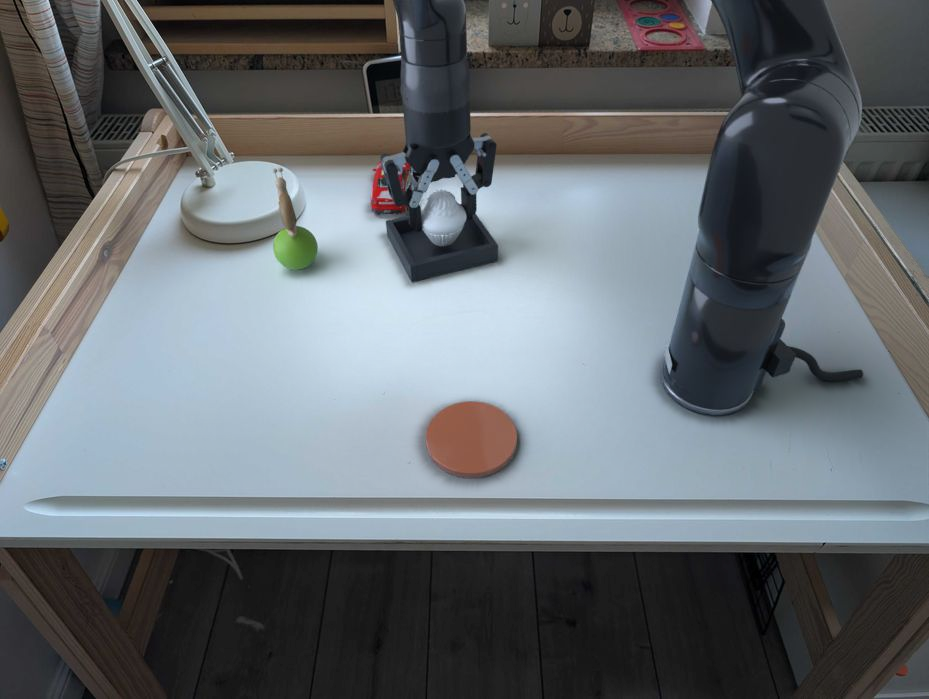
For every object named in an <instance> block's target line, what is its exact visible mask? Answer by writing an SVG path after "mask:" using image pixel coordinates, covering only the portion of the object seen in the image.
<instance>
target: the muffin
mask: <svg viewBox="0 0 929 699" xmlns="http://www.w3.org/2000/svg"><path fill="white" fill-rule="evenodd" d="M460 204H461V203H459V202H458V201H457V199H456V196H455V195H454V194H453V193H452V192H451V191H448V190H446V189H445V190H442V189H440V190H435V191H433V192H432V193H430V194H429V195H428V197H427V198H426V202H425V203H424V204H423V205H422V206H420V207H421V218H422V229H423V231H424V232H425V234H426V235H427V236H428V238H429V239H430V240H431V242H432V243H433V244H435V245H437V246H448V245H451V244H453V243H454V242H455V241H456V239H457V237H458V236H459V234H460V232H461V231H462V229H463V226H464V223H465V221H466V211H465V209H464V208H463V207H462V206H461V205H460Z"/></svg>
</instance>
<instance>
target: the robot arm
mask: <svg viewBox="0 0 929 699" xmlns="http://www.w3.org/2000/svg"><path fill="white" fill-rule="evenodd" d="M392 2H393V7H394V8H395V12H396V16H397V23H398V34H399V46H400V59H401V60H400V96H401V100H402V110H403V111H402V113H403V121H404V122H403V123H404V135H405V145H404V147H403V149H402V151H401V152H399V153H395V154H392V155H390V154H389V153H387V152H384V153H381V155H380V158H379V160H380V161H381V164H382V168H383V172H384V176H385V179H386V183H387V187H388V191H389V195H390V196H391V198H392V200H393V201H394V203H395V205H396V206H398V207H400V206H402V205H406V211H405V213H406V215H405V216H407V221H408V222H409V224H410V226H411V227H412V229H413V228H414V229H415V230H416V232H419V231H422V218H421V207H422V206H421V205H420V202H421V201H422V198H423V196H424V194H425V193H427V192H428V190H429V187H430V184H431V183H434V182H435V183H436V182H438V181H441V180H443V179H453V178H456V176H457V177H458V179H459V180H460V182H461V184H462V187H460V204H461V206H462V207H463V208H464V209H465V211H466V220H470V219H473V214H475V213H476V214H477V211H478V210H477V205H478V204H477V194H478V192H479V190H480V189H481V188H483V187H484V188H489V187H490V186H491V185H492V181H493V175H494V167H495V160H496V153H497V146H498V145H497V143H496V142H495V141H494V139H493V138H492V137H491V136H490V134H488V133H487V132H483V133H481V134H480V136H478V137H472V136H471V123H472V122H471V74H470V73H471V72H470V68H469V67H470V66H469V59H468V36H467V31H468V30H467V29H468V28H467V11H466V4H465V1H464V0H392ZM710 2H711V4H712V6H713V7H714V9H715V11H716V13H717V14H718V17H719V18H720V20H721V23H722V26H723V28H724V31H725V34H726V37H727V41H728V44H729V47H730V51H731V55H732V58H733V62H734V66H735V70H736V74H737V75H736V76H737V80H738V85H739V93H740V97H739V99H738V101H736V103H735V104H734V106H733V107H731V109H730V110H729V112H728V113H727V114H726V116H725V118H724V119H723V121H722V123H721V125H720V127H719V129H718V131H717V134H716V138H715V141H714V144H713V148H712V151H711V156H710V159H709V164H708V168H707V173H706V175H705V180H704V186H703V189H702V194H701V200H700V203H699V208H698V215H697V227H698V234H697V237H696V242H695V245H694V249H693V253H692V256H691V260H690V264H689V269H688V273H687V277H686V280H685V284H684V288H683V291H682V295H681V298H680V303H679V307H678V311H677V314H676V318H675V321H674V325H673V330H672V333H671V337H670V341H669V345H668V341H666V342H665V344H664V345H665V346H664V349H663V354H664V359H665V360H664V362H663V363H662V367H661V373H660V378H661V383H662V386H663V388H664V390H665V391H666V393H667V394H668V396H670V397H671V398H672V399H673V400H674V401H675V402H676V403H678V404H679V405H681V406H683V407H684V408H686V409H688V410H690V411H693V412H696V413H699V414H703V415H710V416H723V415H729V414H733V413H737V412H738V411H740V410H742V409H743V408H745V407H746V406H747V404H749V402H750V401H751V398H752V397H753V394H754V393H755V392H758V391H760V389H761V387H762V384H763V383H764V379H765V377H766V374H768V375H769V376H770V377H771V378H772V379H773V378H776V377H779V376H782V375H786V374H789V373H790V371H791V369H792V366H793V364H794V362H795V359H799V360H801V361H803V362H804V363H805V364H806V365H807V367H808V369H809V371H810V373H811V374H812V375H813V376H814V377H815V378H817V379H819V380H821V381H825V382H842V381H848V380H857V379H862V378H863V377H864V372H863V370H862V369H851V370H844V371H843V370H842V371H837V372H836V371H835V372H829V371H825V370H822V369H821V367H820V365H819V363H818V361H817V360H816V358H815V357H814V356H813V355H812V354H810V353H809V352H807V351H805V350H803V349H801V348H797V347H795V346H790V345H787V344H786V343H785V341H783V340H782V339H781V338H782V335H783V333H784V330H785V328H786V321H785V320H784V318H783V316H784V315H785V311H786V309H787V307H788V304H789V301H790V299H791V296H792V293H793V291H794V289H795V286H796V284H797V281H798V279H799V276H800V274H801V271H802V267H803V266H804V264H805V261H806V259H807V256H808V254H809V252H810V250H811V247H812V243H813V242H812V241H813V237H814V234H815V232H816V230H817V227H818V225H819V222H820V220H821V217H822V215H823V212H824V210H825V207H826V204H827V203H828V199H829V197H830V195H831V192H832V190H833V187H834V184H835V182H836V179H837V178H838V175H839V173H840V170H841V169H842V168H841V167H842V165H843V162H844V161H845V159H846V158H847V155H848V153H849V151H850V149H851V147H852V145H853V144H854V141H855V140H856V138H857V136H858V132H859V129H860V126H861V124H862V123H861V122H862V113H863V104H862V103H863V102H862V96H861V92H860V88H859V85H858V82H857V80H856V76H855V74H854V71H853V69H852V66H851V64H850V61H849V58H848V56H847V54H846V52H845V48H844V46H843V43H842V41H841V39H840V36H839V34H838V30H837V28H836V26H835V23H834V20H833V18H832V15H831V13H830V10H829V7H828V4H827V2H826V0H710ZM473 151H474V152H475V153H476V154H477V157H476V166H475V174H472V175H471V173H470V172H469V170H468V169H467V167H466V165H465V164H466V162H467V161H468V159H469V157H470V156H471V155H472V153H473ZM405 163H408V164H409V165H410V166H411V171H410V174H409V181H408V184H407V186H406V189H405V191H403V190H402V188H401V184H400V180H399V176H398V175H400V174H401V173H402V170H403V165H404V164H405Z"/></svg>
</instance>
